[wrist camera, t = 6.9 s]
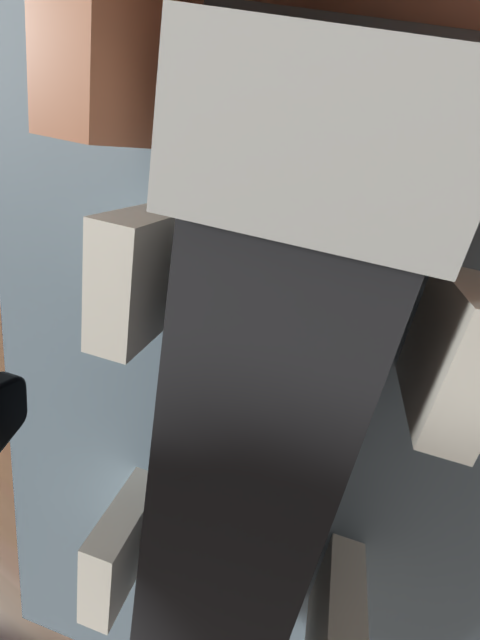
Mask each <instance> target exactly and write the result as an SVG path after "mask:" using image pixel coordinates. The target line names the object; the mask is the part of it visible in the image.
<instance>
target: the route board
mask: <svg viewBox="0 0 480 640" xmlns="http://www.w3.org/2000/svg"><path fill="white" fill-rule="evenodd" d="M204 5H209V6H216V7H224V8H231V9H238V10H245V11H253V12H260V13H267V14H275V15H282V16H289V17H296V18H304V19H311V20H318V21H326V22H333V23H340V24H348V25H355V26H362V27H369V28H377V29H384V30H391V31H399V32H406V33H413V34H420V35H428V36H435V37H442V38H450V39H457V40H464V41H472V42H479V43H480V31H477V30H470V29H462V28H454V27H447V26H439V25H431V24H424V23H416V22H408V21H400V20H393V19H385V18H377V17H370V16H362V15H354V14H347V13H339V12H331V11H324V10H316V9H308V8H301V7H293V6H285V5H278V4H270V3H262V2H255V1H247V0H204ZM150 158H151V149H146V148H129V147H112V146H95V145H86V144H81V143H76V142H71V141H66V140H61V139H56V138H51V137H46V136H41V135H36V134H31V133H29V120H28V91H27V61H26V32H25V2H24V0H0V304H1V318H2V332H3V346H4V361H5V372H9V373H12V374H15V375H18V376H21V377H23V378H24V379H25V381H26V387H27V409H28V411H27V417H26V419H25V422H24V423H23V425H22V426H21V427H20V429H19V430H18V431H17V432H16V434H15V435H14V436H13V437H12V439H11V440H10V446H11V460H12V474H13V489H14V503H15V517H16V531H17V545H18V560H19V574H20V588H21V602H22V617H23V618H24V619H27V620H29V621H31V622H34V623H36V624H38V625H41V626H43V627H46V628H48V629H50V630H53V631H55V632H57V633H60V634H62V635H64V636H67V637H69V638H72V639H74V640H130V632H131V623H132V614H133V605H134V595H135V586H136V577H137V568H138V558H139V549H140V540H141V531H142V521H143V512H144V503H145V494H146V484H147V475H148V466H149V457H150V447H151V438H152V429H153V420H154V410H155V401H156V392H157V383H158V373H159V364H160V355H161V346H162V336H163V327H164V318H165V309H166V299H167V290H168V281H169V272H170V262H171V253H172V244H173V235H174V225H175V218H172V217H168V216H163V215H159V214H155V213H150V212H146V209H147V196H148V183H149V171H150ZM289 640H480V222H479V224H478V227H477V229H476V232H475V234H474V237H473V239H472V242H471V244H470V247H469V249H468V251H467V254H466V256H465V259H464V261H463V264H462V266H461V269H460V271H459V274H458V276H457V278H456V281H455V282H452V281H448V280H443V279H439V278H434V277H430V276H426V275H425V277H424V280H423V282H422V285H421V288H420V291H419V293H418V296H417V299H416V301H415V304H414V307H413V309H412V312H411V315H410V317H409V320H408V323H407V325H406V328H405V331H404V333H403V336H402V339H401V341H400V344H399V347H398V349H397V352H396V355H395V357H394V360H393V363H392V366H391V368H390V371H389V374H388V376H387V379H386V382H385V384H384V387H383V390H382V392H381V395H380V398H379V400H378V403H377V406H376V408H375V411H374V414H373V416H372V419H371V422H370V424H369V427H368V430H367V433H366V435H365V438H364V441H363V443H362V446H361V449H360V451H359V454H358V457H357V459H356V462H355V465H354V467H353V470H352V473H351V475H350V478H349V481H348V483H347V486H346V489H345V491H344V494H343V497H342V499H341V502H340V505H339V508H338V510H337V513H336V516H335V518H334V521H333V524H332V526H331V529H330V532H329V534H328V537H327V540H326V542H325V545H324V548H323V550H322V553H321V556H320V558H319V561H318V564H317V566H316V569H315V572H314V575H313V577H312V580H311V583H310V585H309V588H308V591H307V593H306V596H305V599H304V601H303V604H302V607H301V609H300V612H299V615H298V617H297V620H296V623H295V625H294V628H293V631H292V633H291V636H290V639H289Z"/></svg>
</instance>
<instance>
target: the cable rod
mask: <svg viewBox="0 0 480 640" xmlns="http://www.w3.org/2000/svg"><path fill="white" fill-rule="evenodd" d="M146 212H150V213H155V214H159V215H163V216H168V217H172V218H175V225H174V235H173V244H172V253H171V262H170V272H169V281H168V290H167V299H166V309H165V318H164V327H163V336H162V346H161V355H160V364H159V373H158V383H157V392H156V401H155V410H154V420H153V429H152V438H151V447H150V457H149V466H148V475H147V484H146V494H145V503H144V512H143V521H142V531H141V540H140V549H139V558H138V568H137V577H136V586H135V595H134V605H133V614H132V623H131V632H130V640H289V639H290V636H291V633H292V631H293V628H294V625H295V623H296V620H297V617H298V615H299V612H300V609H301V607H302V604H303V601H304V599H305V596H306V593H307V591H308V588H309V585H310V583H311V580H312V577H313V575H314V572H315V569H316V566H317V564H318V561H319V558H320V556H321V553H322V550H323V548H324V545H325V542H326V540H327V537H328V534H329V532H330V529H331V526H332V524H333V521H334V518H335V516H336V513H337V510H338V508H339V505H340V502H341V499H342V497H343V494H344V491H345V489H346V486H347V483H348V481H349V478H350V475H351V473H352V470H353V467H354V465H355V462H356V459H357V457H358V454H359V451H360V449H361V446H362V443H363V441H364V438H365V435H366V433H367V430H368V427H369V424H370V422H371V419H372V416H373V414H374V411H375V408H376V406H377V403H378V400H379V398H380V395H381V392H382V390H383V387H384V384H385V382H386V379H387V376H388V374H389V371H390V368H391V366H392V363H393V360H394V357H395V355H396V352H397V349H398V347H399V344H400V341H401V339H402V336H403V333H404V331H405V328H406V325H407V323H408V320H409V317H410V315H411V312H412V309H413V307H414V304H415V301H416V299H417V296H418V293H419V291H420V288H421V285H422V282H423V280H424V277H425V275H426V276H430V277H434V278H439V279H443V280H448V281H452V282H455V281H456V278H457V276H458V274H459V271H460V269H461V266H462V264H463V261H464V259H465V256H466V254H467V251H468V249H469V247H470V244H471V242H472V239H473V237H474V234H475V232H476V229H477V227H478V224H479V222H480V43H479V42H472V41H464V40H457V39H450V38H442V37H435V36H428V35H420V34H413V33H406V32H399V31H391V30H384V29H377V28H369V27H362V26H355V25H348V24H340V23H333V22H326V21H318V20H311V19H304V18H296V17H289V16H282V15H275V14H267V13H260V12H253V11H245V10H238V9H231V8H224V7H216V6H209V5H202V4H194V3H187V2H180V1H172V0H163V7H162V19H161V32H160V45H159V57H158V70H157V83H156V95H155V108H154V120H153V133H152V146H151V158H150V171H149V183H148V196H147V209H146Z"/></svg>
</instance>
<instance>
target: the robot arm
mask: <svg viewBox="0 0 480 640" xmlns="http://www.w3.org/2000/svg"><path fill="white" fill-rule="evenodd" d="M27 411H28V409H27V387H26V381H25V379H24V378H23V377H21V376H18V375H15V374H12V373H9V372H0V452H1V451H2V450H3V448H4V447H5V446H6V445H7V443H8V442H9V441H10V440H11V439H12V437H13V436H14V435H15V434H16V432H17V431H18V430H19V429H20V427H21V426H22V425H23V423H24V422H25V419H26V417H27Z"/></svg>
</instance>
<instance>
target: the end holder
mask: <svg viewBox="0 0 480 640" xmlns="http://www.w3.org/2000/svg"><path fill="white" fill-rule="evenodd" d="M172 1H180V2H187V3H194V4H202V5H204V0H172ZM247 1H255V2H262V3H270V4H278V5H285V6H293V7H301V8H308V9H316V10H324V11H331V12H339V13H347V14H354V15H362V16H370V17H377V18H385V19H393V20H400V21H408V22H416V23H424V24H431V25H439V26H447V27H454V28H462V29H470V30H477V31H480V0H247ZM24 2H25V32H26V61H27V91H28V120H29V133H31V134H36V135H41V136H46V137H51V138H56V139H61V140H66V141H71V142H76V143H81V144H86V145H95V146H112V147H129V148H146V149H151V146H152V133H153V120H154V108H155V95H156V83H157V70H158V57H159V45H160V32H161V19H162V7H163V0H24Z"/></svg>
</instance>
